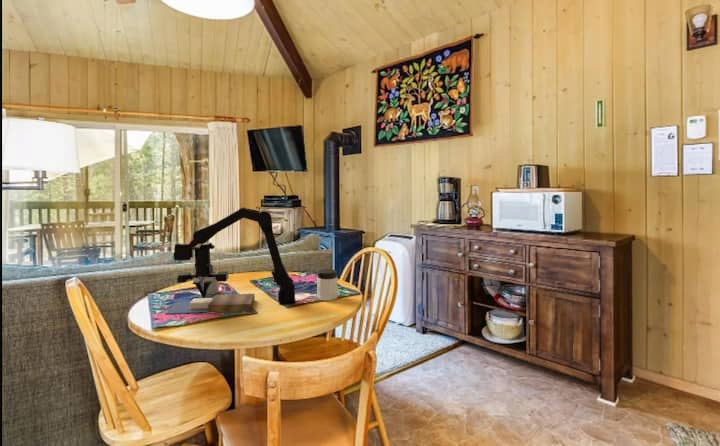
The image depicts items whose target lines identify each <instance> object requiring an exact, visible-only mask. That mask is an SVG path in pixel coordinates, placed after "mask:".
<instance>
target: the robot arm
mask: <svg viewBox="0 0 720 446" xmlns="http://www.w3.org/2000/svg"><path fill="white" fill-rule="evenodd" d="M242 219H247V220H250V221H253V222H257V223H258V225H259V227H260V229H261V231H262V233H263V234H264V237H265V240H266V244H267V247H268V250H269V255H270V258H271V261H272V265H273V268H271V271H270V272H271V276H272V277H273V282H274V283H275V284H276V285H277V286H278V287H279V290H278V292H277V297H278V301H277V302H278V303H279V305H295V304H296V285H295V280H293V278H291V277H290V276H289V275H290V274H289V271H288V270H287V268H286V266H285V264H284V263H283V260H282V257H281V254H280V251H279V247H278V243H277V240H276V237H275V234H274V230H273V220H272V214H271V212H269V210H266V209H263V210H256V209H253V208H252V209H251V208H247V207H244V206H242V207H240V208H238V209H237V210H236V211H234V212H232V213H230V214H229V215H227V216H225V217H223V218H222V219H220V220H218V221H216V222H214V223H212V224H209V225H205V226H202V227H200V228H198V229H196V231H194V233H193V235H192V238H193V239H192V240H191V241H190V242H189V243H180V242H179V243H175V244H174V249H173V250H174V251H173V259H174V262H179V261H182V262H183V261H191V259H193V258H194V271H195V274H192V273H191V271H189V272H188V271H187V272H180V273H179V274H178V275H177V279H176V283H178V284H179V283H186V282H187V281H188V280H190V281H191V280H192V285H195V286H196V288H197V289H198V291H199V293H200V295H201V298H207V295H208V294H207V291H208V287H209V285H210V284H212V282H213V281H214V279H216V280H217V281H218V282H227V281H228V279H230V278H229V272H228V271H217V272H218V273H217V274H211V273H213V271H214V264H212V262H211V250H213V249H215V248H216V246H215V245H214V244H213V243H212V242H209V241H210V240H211V239H212V238H213V237H214V236H215V235H217V234H218V233H219V232H221V231H223V230H224V229H227V228H228V227H229V226H232V225H233V224H235V223H237V222H238V221H240V220H242ZM207 242H209V243H207ZM205 243H207V244H205ZM198 245H199V246H198ZM203 279H205V280H206V281H205V282H204V286H203Z"/></svg>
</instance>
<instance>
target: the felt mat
mask: <svg viewBox="0 0 720 446" xmlns="http://www.w3.org/2000/svg"><path fill="white" fill-rule="evenodd" d="M190 302H191V301H176V302H175V303H174V304H172V306H171V307H170V308H169V309H168V310H167V311H166V312H165V315H183V314H182V313H190V314H200V313H199V312H208V308H199V309H190Z"/></svg>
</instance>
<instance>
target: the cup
mask: <svg viewBox="0 0 720 446" xmlns="http://www.w3.org/2000/svg"><path fill="white" fill-rule="evenodd" d="M218 272H219V271H217V270H216V271H215V270H213V273H211V274H217V273H218ZM205 281H206V280H205V279H203V286H204V282H205ZM219 288H220V286H219V282H218V281H217V280H216V279H214V281H213V282H212V284H210V285H209V287H208V291H207V294H206V295H214V294H213V293H215V294H218V293H219V292H220V291H219V290H220V289H219Z"/></svg>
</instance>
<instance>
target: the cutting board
mask: <svg viewBox="0 0 720 446" xmlns="http://www.w3.org/2000/svg"><path fill="white" fill-rule="evenodd" d="M255 296H256V295H255V293H234V294H215V295H214V296H213V297H212V298H213V299H212V301H211V302H210V304H209V305H208V312H218V313H241V312H242V311H243V312H244V313H245V312H252V309H253V305H254V304H255ZM238 311H239V312H238ZM240 311H241V312H240Z"/></svg>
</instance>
